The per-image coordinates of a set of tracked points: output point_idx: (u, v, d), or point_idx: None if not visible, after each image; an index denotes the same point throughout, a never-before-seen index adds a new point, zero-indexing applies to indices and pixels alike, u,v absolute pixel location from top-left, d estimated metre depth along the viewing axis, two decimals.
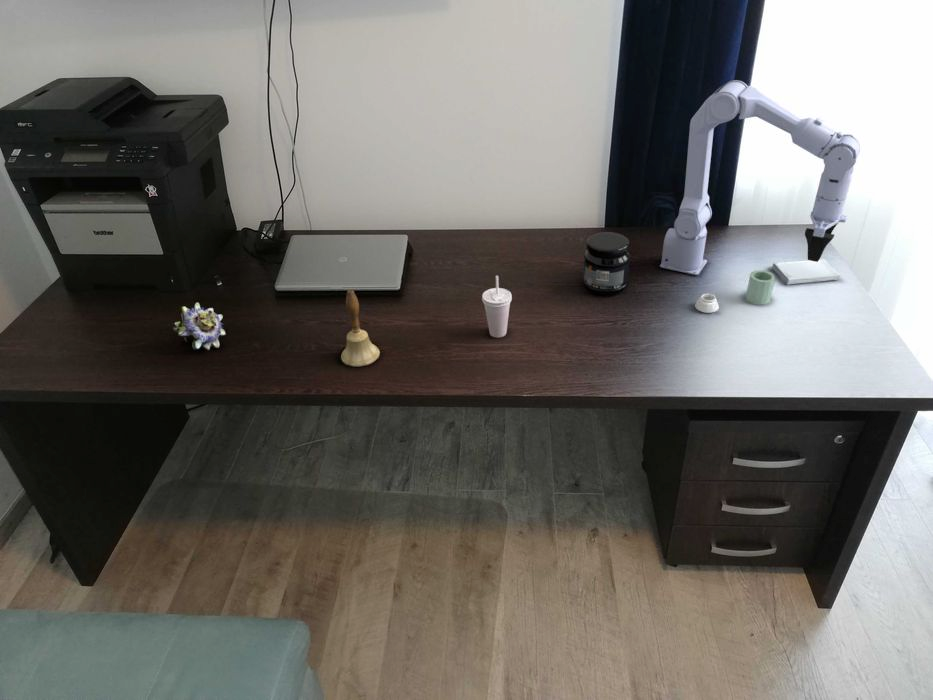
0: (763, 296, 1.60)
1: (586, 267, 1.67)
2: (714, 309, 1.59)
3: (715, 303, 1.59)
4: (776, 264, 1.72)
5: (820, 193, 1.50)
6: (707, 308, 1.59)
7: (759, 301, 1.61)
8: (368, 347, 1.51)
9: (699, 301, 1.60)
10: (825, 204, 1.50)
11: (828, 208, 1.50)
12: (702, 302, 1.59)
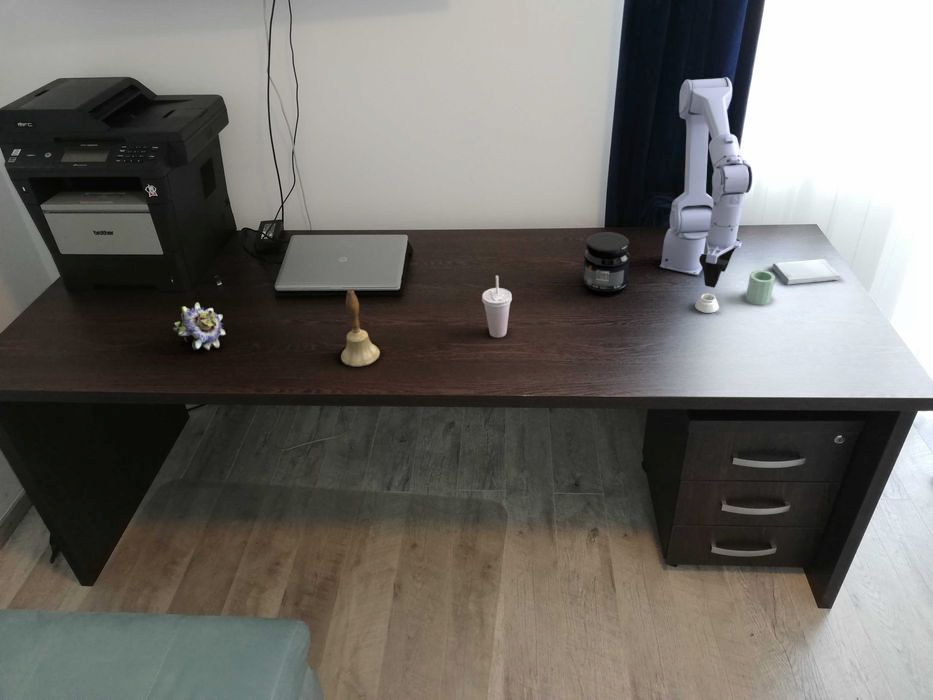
0: (763, 296, 1.60)
1: (586, 267, 1.67)
2: (714, 309, 1.59)
3: (715, 303, 1.59)
4: (776, 264, 1.72)
5: None
6: (707, 308, 1.59)
7: (759, 301, 1.61)
8: (368, 347, 1.51)
9: (699, 301, 1.60)
10: (717, 230, 1.48)
11: (721, 234, 1.48)
12: (702, 302, 1.59)
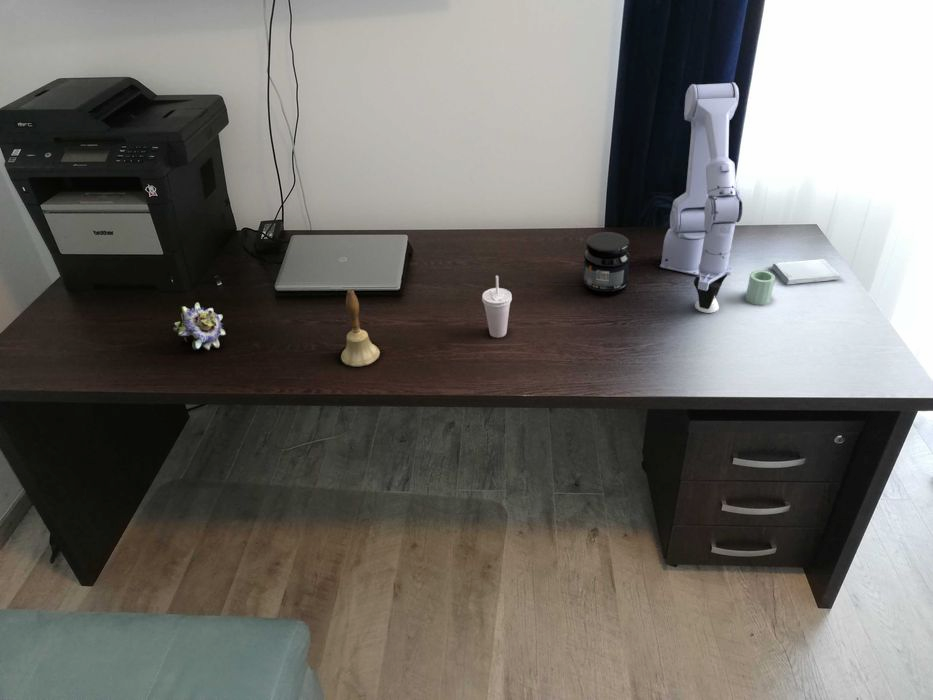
0: (763, 296, 1.60)
1: (586, 267, 1.67)
2: (714, 309, 1.59)
3: (715, 303, 1.59)
4: (776, 264, 1.72)
5: None
6: None
7: (759, 301, 1.61)
8: (368, 347, 1.51)
9: None
10: (709, 258, 1.52)
11: (712, 262, 1.51)
12: None
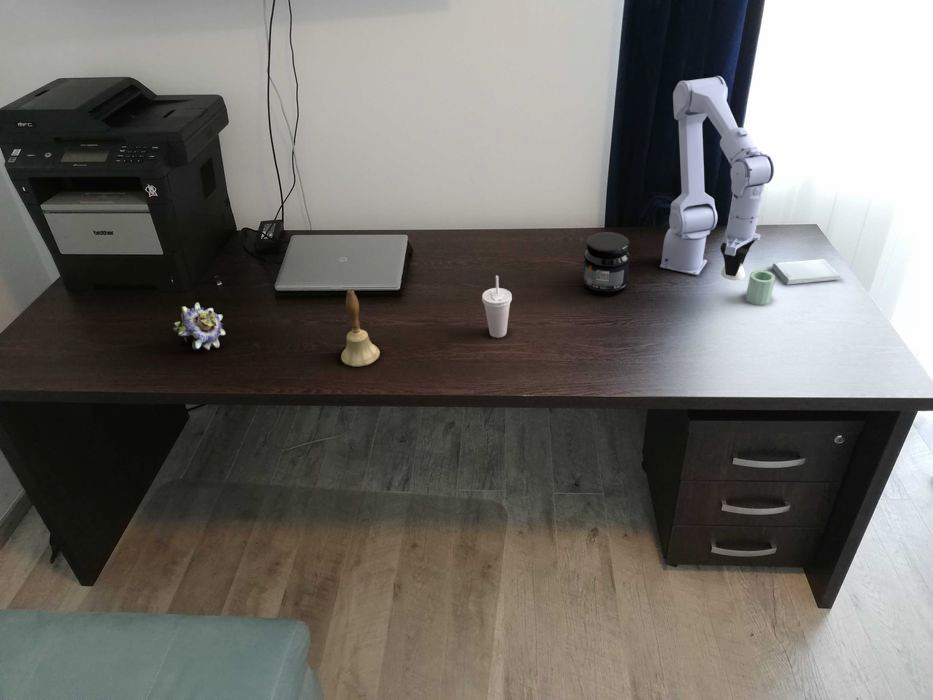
0: (763, 296, 1.60)
1: (586, 267, 1.67)
2: (740, 276, 1.55)
3: (741, 270, 1.55)
4: (776, 264, 1.72)
5: None
6: None
7: (759, 301, 1.61)
8: (368, 347, 1.51)
9: None
10: (737, 222, 1.48)
11: (740, 226, 1.48)
12: None
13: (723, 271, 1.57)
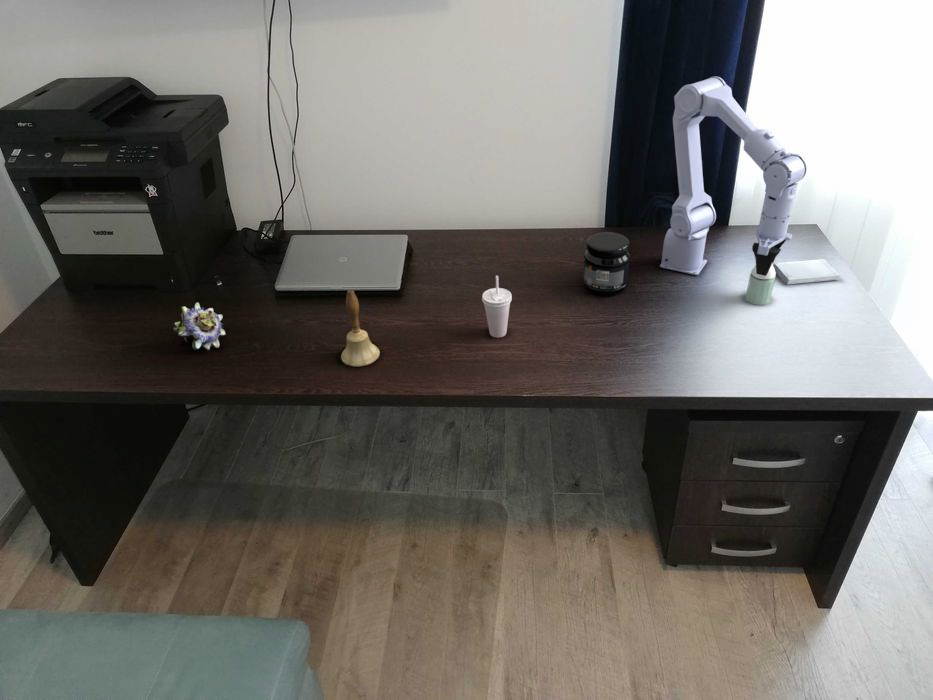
0: (763, 296, 1.60)
1: (586, 267, 1.67)
2: (771, 275, 1.57)
3: (772, 270, 1.57)
4: (776, 264, 1.72)
5: (762, 209, 1.51)
6: None
7: (759, 301, 1.61)
8: (368, 347, 1.51)
9: None
10: (769, 222, 1.50)
11: (772, 226, 1.50)
12: None
13: (754, 270, 1.59)
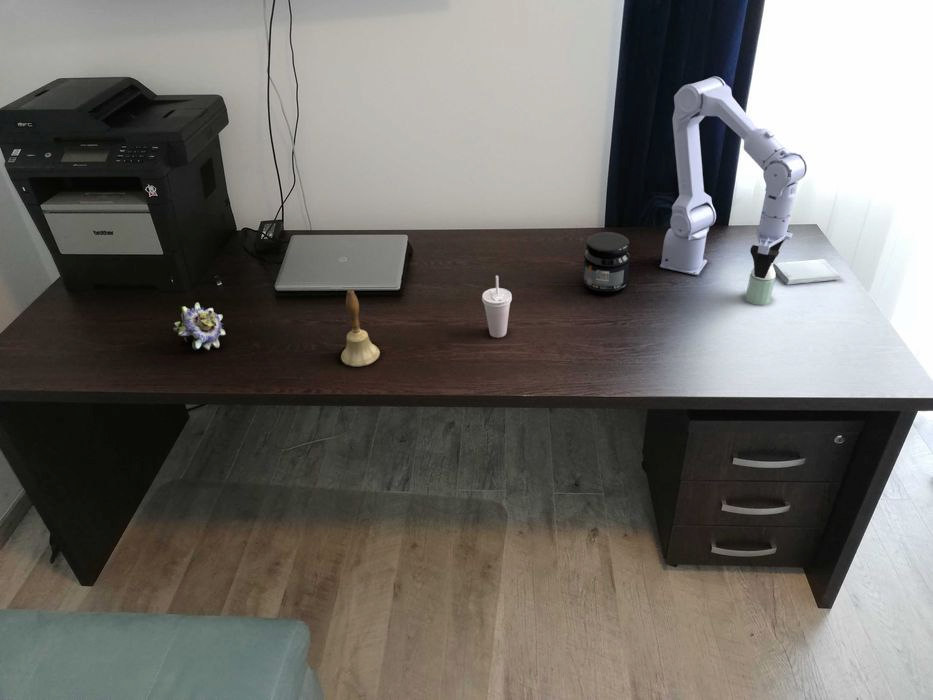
0: (763, 296, 1.60)
1: (586, 267, 1.67)
2: (771, 276, 1.57)
3: (772, 270, 1.57)
4: (776, 264, 1.72)
5: (763, 208, 1.51)
6: None
7: (759, 301, 1.61)
8: (368, 347, 1.51)
9: None
10: (769, 221, 1.50)
11: (773, 225, 1.50)
12: None
13: None
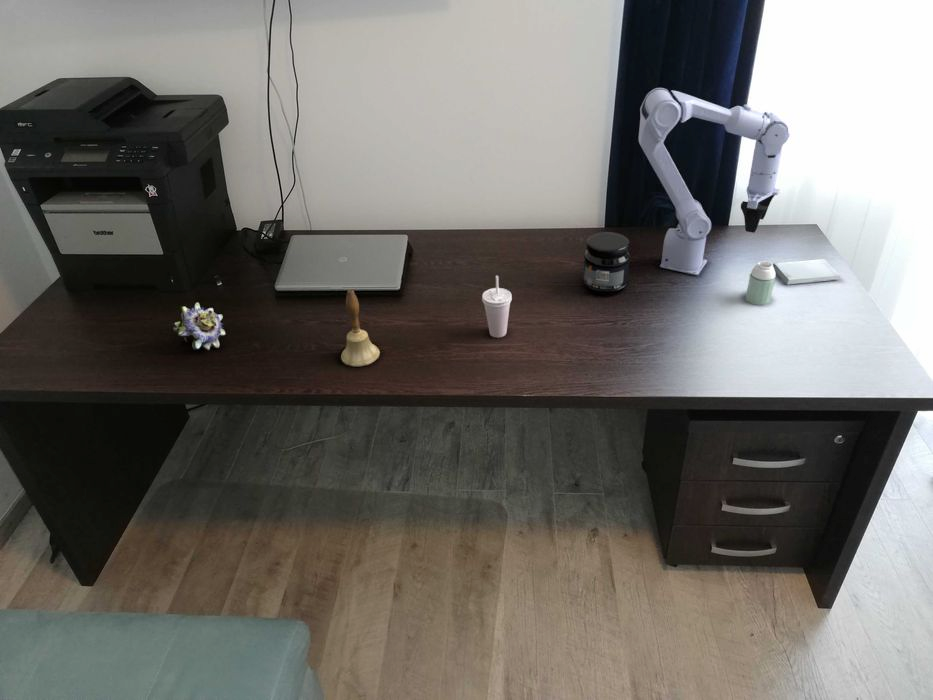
0: (763, 296, 1.60)
1: (586, 267, 1.67)
2: (771, 276, 1.57)
3: (772, 270, 1.57)
4: (776, 264, 1.72)
5: (758, 170, 1.61)
6: (764, 275, 1.57)
7: (759, 301, 1.61)
8: (368, 347, 1.51)
9: (756, 268, 1.58)
10: (758, 178, 1.62)
11: (761, 182, 1.62)
12: (759, 269, 1.58)
13: (754, 271, 1.59)
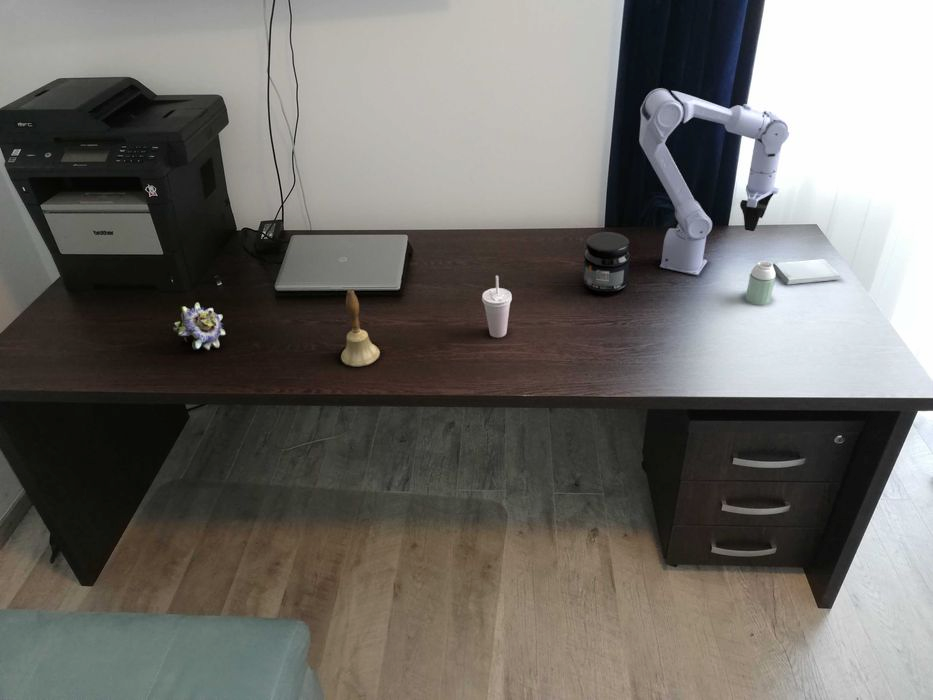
0: (763, 296, 1.60)
1: (586, 267, 1.67)
2: (771, 276, 1.57)
3: (772, 270, 1.57)
4: (776, 264, 1.72)
5: (758, 169, 1.61)
6: (764, 275, 1.57)
7: (759, 301, 1.61)
8: (368, 347, 1.51)
9: (756, 268, 1.58)
10: (757, 177, 1.62)
11: (760, 181, 1.62)
12: (759, 269, 1.58)
13: (754, 271, 1.59)
